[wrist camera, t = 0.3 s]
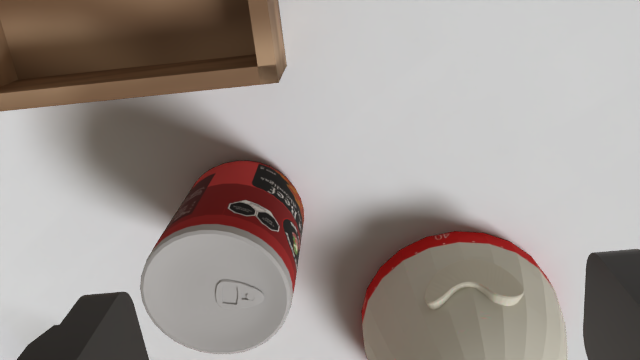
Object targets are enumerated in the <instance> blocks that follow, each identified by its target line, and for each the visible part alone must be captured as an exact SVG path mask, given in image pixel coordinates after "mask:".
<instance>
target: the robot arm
mask: <svg viewBox="0 0 640 360" xmlns="http://www.w3.org/2000/svg"><path fill="white" fill-rule="evenodd" d="M583 337H584V345H585V350H586V354H587V357H588V360H640V250H639V249H631V250H620V251H608V252H596V253H591V254H590V255H589V257H588V259H587V264H586V281H585V301H584V322H583ZM17 360H149V358H148V354H147V351H146V347H145V344H144V340H143V336H142V333H141V329H140V325H139V322H138V318H137V315H136V311H135V307H134V304H133V301H132V299H131V297H130V295H129V294H128V293H126V292H115V293H104V294H92V295H84V296H82V297H80V298H79V300H78V301H77V302H76V304H75V305H74V306H73V308H72V309H71V310H70V312H69V313H68V314H67V316H66V317H65V318H64V320H63V321H62V322H61V324H60V325H54V326H53V327H51V328H50V329H49V330H47V331H46V332H45V333H43V334H42V335H41V336H39V337H38V338H37V339H35V340H34V341H33V342H31V343H30V344H29V345H28V346H27V347H26V348H25V350H24V351H23V352H22V353H21V355H20V356H19V357H18V359H17Z"/></svg>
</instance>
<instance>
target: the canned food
mask: <svg viewBox="0 0 640 360" xmlns="http://www.w3.org/2000/svg"><path fill="white" fill-rule="evenodd" d="M303 222H304V209H303V205H302V202H301V198H300V196H299V195H298V193H297V191H296V189H295V188H294V186H293V185H292V184H291V182H290V181H289V180H288V179H287V178H286V177H285V176H284V175H283V174H281V173H280V172H279V171H277V170H276V169H274V168H272V167H270V166H268V165H265V164H262V163H259V162H253V161H234V162H228V163H224V164H222V165H219V166H217V167H214V168H212V169H211V170H209V171H207V172H206V173H204V174H203V175H202V176H201V177H200V178H199V179H198V180H197V181H196V183H195V184H194V186H193V187H192V189H191V191H190V192H189V194H188V195H187V197H186V198H185V200H184V201H183V203H182V204H181V206H180V208H179V209H178V211H177V212H176V214H175V215H174V217H173V218H172V220H171V222H170V223H169V225H168V226H167V228H166V229H165V231H164V232H163V234H162V236H161V237H160V239H159V240H158V242H157V243H156V245H155V247H154V248H153V250H152V252H151V254H150V255H149V257H148V259H147V261H146V264H145V266H144V269H143V272H142V275H141V285H140V290H141V296H142V301H143V304H144V306H145V309H146V311H147V313H148V315H149V316H150V318H151V319H152V321H153V322H154V324H155V325H156V326H157V327H158V328H159V329H160V330H161V331H162V332H163V333H164V334H166V335H167V336H169V337H170V338H171V339H173V340H174V341H176V342H178V343H180V344H182V345H184V346H186V347H188V348H191V349H194V350H197V351H200V352H206V353H212V354H233V353H239V352H244V351H247V350H250V349H253V348H256V347H258V346H259V345H261V344H263V343H265V342H267V341H268V340H269V339H270V338H271V337H273V336H274V335H275V334H276V333H277V332H278V330H279V329H280V328H281V327H282V325H283V324H284V322H285V320H286V317H287V315H288V313H289V310H290V307H291V302H292V297H293V292H294V286H295V280H296V273H297V266H298V258H299V251H300V244H301V237H302V230H303Z"/></svg>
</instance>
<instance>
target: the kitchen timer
mask: <svg viewBox="0 0 640 360" xmlns="http://www.w3.org/2000/svg"><path fill="white" fill-rule="evenodd" d="M362 327H363V338H364V348H365V353H366V356H367V359H368V360H567V338H566V327H565V322H564V319H563V315H562V312H561V309H560V305H559V302H558V299H557V296H556V293H555V290H554V288H553V286H552V285H551V283H550V282H549V280H548V278H547V277H546V275H545V274H544V273H543V271H542V270H541V269H540V267H539V266H538V265H537V263H536V262H535V261H534V259H533V258H532V257H531V256H530V255H528V254H527V253H526V252H524V251H523V250H521V249H520V248H518V247H517V246H516V245H514V244H513V243H511V242H510V241H507V240H504V239H501V238H497V237H494V236H491V235H488V234H485V233H476V232H458V231H454V232H449V233H444V234H439V235H434V236H429V237H425V238H423V239H421V240H419V241H417V242H415V243H413V244H411V245H409V246H407V247H405V248H403V249H401V250H400V251H398V252H397V253H396V254H395V255H394V256H393V257H392V258H390V259H389V260H388V261H387V262H386V263H385V264H384V265H382V266H381V267H380V269H379V271H378V272H377V274H376V275H375V277H374V278H373V280H372V282H371V283H370V285H369V286H368V288H367V292H366V296H365V300H364V303H363V307H362Z"/></svg>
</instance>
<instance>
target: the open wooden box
mask: <svg viewBox="0 0 640 360" xmlns="http://www.w3.org/2000/svg"><path fill="white" fill-rule="evenodd" d="M286 66H287V65H286V57H285V49H284V42H283V34H282V26H281V19H280V11H279V4H278V0H0V111H8V110H18V109H27V108H37V107H47V106H56V105H66V104H76V103H86V102H95V101H105V100H115V99H125V98H134V97H144V96H154V95H163V94H173V93H183V92H193V91H202V90H212V89H222V88H232V87H241V86H251V85H261V84H271V83H279V80H280V78H281V76H282V74H283V72H284V70H285V68H286Z"/></svg>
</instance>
